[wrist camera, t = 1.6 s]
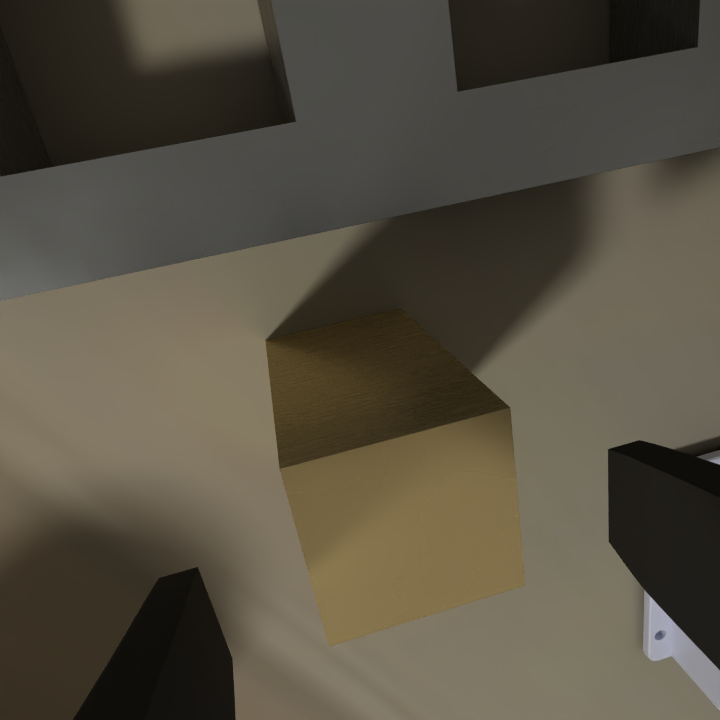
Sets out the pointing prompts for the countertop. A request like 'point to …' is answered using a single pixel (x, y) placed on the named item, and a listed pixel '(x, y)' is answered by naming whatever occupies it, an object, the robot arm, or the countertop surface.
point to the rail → (355, 139)
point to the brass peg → (393, 473)
